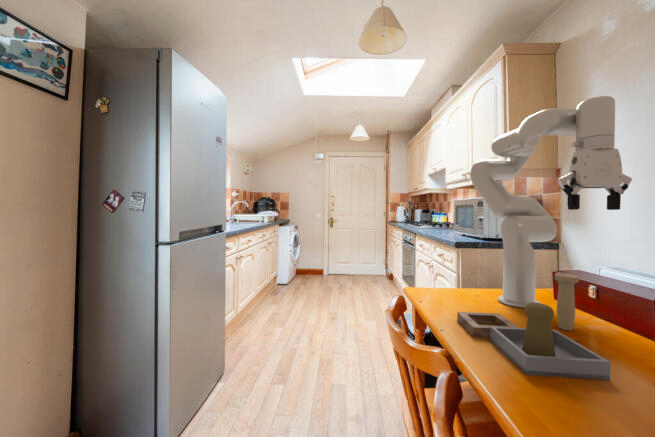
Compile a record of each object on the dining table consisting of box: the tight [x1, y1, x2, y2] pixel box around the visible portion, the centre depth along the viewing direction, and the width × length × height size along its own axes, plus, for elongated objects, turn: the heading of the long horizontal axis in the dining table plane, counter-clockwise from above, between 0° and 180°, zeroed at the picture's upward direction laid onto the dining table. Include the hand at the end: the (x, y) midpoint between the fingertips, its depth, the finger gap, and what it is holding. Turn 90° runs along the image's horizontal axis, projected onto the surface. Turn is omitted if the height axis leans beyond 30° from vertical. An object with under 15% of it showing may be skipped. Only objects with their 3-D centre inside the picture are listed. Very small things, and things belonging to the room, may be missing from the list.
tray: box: [489, 327, 611, 381], centre depth 61 cm, size 15×15×4 cm
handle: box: [554, 272, 580, 332], centre depth 77 cm, size 5×6×15 cm
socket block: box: [456, 311, 520, 339], centre depth 77 cm, size 12×12×2 cm
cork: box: [522, 302, 556, 357], centre depth 62 cm, size 6×6×11 cm
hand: (593, 209), depth 74 cm, fingers open, 9 cm apart
